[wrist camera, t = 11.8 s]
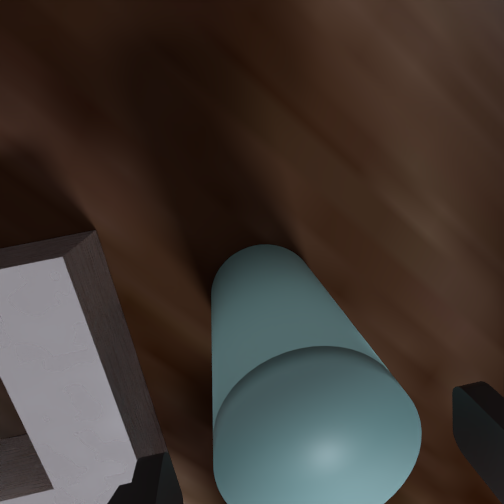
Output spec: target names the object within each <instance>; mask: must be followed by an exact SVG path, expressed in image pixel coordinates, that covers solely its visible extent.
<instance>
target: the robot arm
mask: <svg viewBox="0 0 504 504" xmlns="http://www.w3.org/2000/svg"><path fill="white" fill-rule="evenodd" d="M452 397H453V434H454V437H455V440H456V443H457V445H458V447H459V449H460V451H461V452H462V454H463V455H464V456H465V458H466V459H467V460H468V461H469V463H470V464H471V465H472V466H473V468H474V469H475V470H476V471H477V473H478V474H479V475H480V476H481V478H482V479H483V480H484V481H485V483H486V484H487V485H488V486H489V488H490V489H491V490H492V491H493V493H494V494H495V495H496V496H497V498H498V499H499V500H500V501H501V503H502V504H504V398H503V397H502V396H501V395H500V394H499V393H498V392H497V391H496V390H494V389H493V388H492V387H491V386H490V385H489V384H487V383H485V382H483V381H480V382H476V383H471V384H467V385H463V386H458V387H455V388H454V389H453V394H452ZM107 504H183V497H182V492H181V489H180V486H179V483H178V480H177V477H176V474H175V471H174V468H173V464H172V461H171V458H170V456H169V453H168V452H163V453H158V454H154V455H149V456H145V457H141V458H139V459H138V460H137V462H136V466H135V470H134V474H133V478H132V482H131V483H127V484H122V485H119V486H118V488H117V489H116V491H115V493H114V494H113V496H112V497H111V499H110V500H109V502H108V503H107Z"/></svg>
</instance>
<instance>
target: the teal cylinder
mask: <svg viewBox="0 0 504 504" xmlns="http://www.w3.org/2000/svg"><path fill="white" fill-rule="evenodd" d="M211 319H212V395H213V471H214V476H215V481H216V484H217V487H218V489H219V492H220V493H221V495H222V497H223V498H224V500H225V501H226V503H227V504H384V503H385V502H386V501H387V500H388V499H389V498H390V497H392V496H393V495H394V494H395V493H396V492H397V490H398V489H399V488H400V487H401V486H402V485H403V483H404V482H405V480H406V479H407V477H408V476H409V474H410V473H411V471H412V469H413V467H414V465H415V462H416V460H417V457H418V454H419V450H420V445H421V424H420V419H419V415H418V412H417V410H416V408H415V406H414V404H413V402H412V400H411V399H410V397H409V396H408V395H407V393H406V392H405V391H404V389H403V388H402V387H401V386H400V384H399V383H398V382H397V380H396V379H395V378H394V377H393V375H392V374H391V373H390V371H389V370H388V369H387V368H386V366H385V365H384V364H383V362H382V361H381V360H380V359H379V357H378V356H377V355H376V353H375V352H374V351H373V350H372V348H371V347H370V346H369V344H368V343H367V342H366V341H365V339H364V338H363V337H362V335H361V334H360V333H359V332H358V330H357V329H356V328H355V326H354V325H353V324H352V323H351V321H350V320H349V319H348V317H347V316H346V315H345V314H344V312H343V311H342V310H341V308H340V307H339V306H338V305H337V303H336V302H335V301H334V299H333V298H332V297H331V296H330V294H329V293H328V292H327V290H326V289H325V288H324V287H323V285H322V284H321V283H320V281H319V280H318V279H317V278H316V276H315V275H314V274H313V272H312V271H311V270H310V269H309V267H308V266H307V265H306V263H305V262H304V261H303V260H302V259H301V258H300V257H299V256H298V255H296V254H295V253H294V252H292V251H290V250H288V249H286V248H283V247H280V246H276V245H269V244H265V245H255V246H251V247H247V248H245V249H242V250H240V251H238V252H237V253H235V254H234V255H232V256H231V257H230V258H228V259H227V260H226V261H225V262H224V263H223V265H222V266H221V267H220V269H219V270H218V272H217V274H216V276H215V278H214V281H213V284H212V290H211Z"/></svg>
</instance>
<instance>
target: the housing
mask: <svg viewBox="0 0 504 504" xmlns="http://www.w3.org/2000/svg"><path fill="white" fill-rule="evenodd" d="M0 377H1V379H2V381H3V383H4V385H5V387H6V390H7V392H8V394H9V396H10V398H11V400H12V402H13V404H14V406H15V408H16V410H17V412H18V415H19V417H20V419H21V421H22V423H23V425H24V427H25V429H26V431H27V433H28V434H25V435H21V436H16V437H12V438H7V439H3V440H0V504H107V503H108V502H109V500H110V499H111V497H112V496H113V494H114V493H115V491H116V489H117V488H118V486H119V485H122V484H127V483H131V482H132V478H133V474H134V470H135V466H136V462H137V460H138V459H139V458H141V457H145V456H149V455H154V454H158V453H163V452H168V450H167V447H166V444H165V441H164V438H163V435H162V432H161V429H160V425H159V422H158V419H157V416H156V413H155V410H154V407H153V404H152V401H151V398H150V395H149V392H148V389H147V386H146V382H145V379H144V376H143V373H142V370H141V367H140V364H139V361H138V358H137V355H136V352H135V349H134V346H133V342H132V339H131V336H130V333H129V330H128V327H127V324H126V321H125V318H124V315H123V312H122V309H121V306H120V302H119V299H118V296H117V293H116V290H115V287H114V284H113V281H112V278H111V275H110V272H109V269H108V266H107V263H106V259H105V256H104V253H103V250H102V247H101V244H100V241H99V238H98V235H97V232H96V230H93V231H88V232H83V233H78V234H73V235H68V236H63V237H58V238H53V239H47V240H42V241H37V242H32V243H27V244H22V245H17V246H12V247H7V248H1V249H0Z"/></svg>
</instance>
